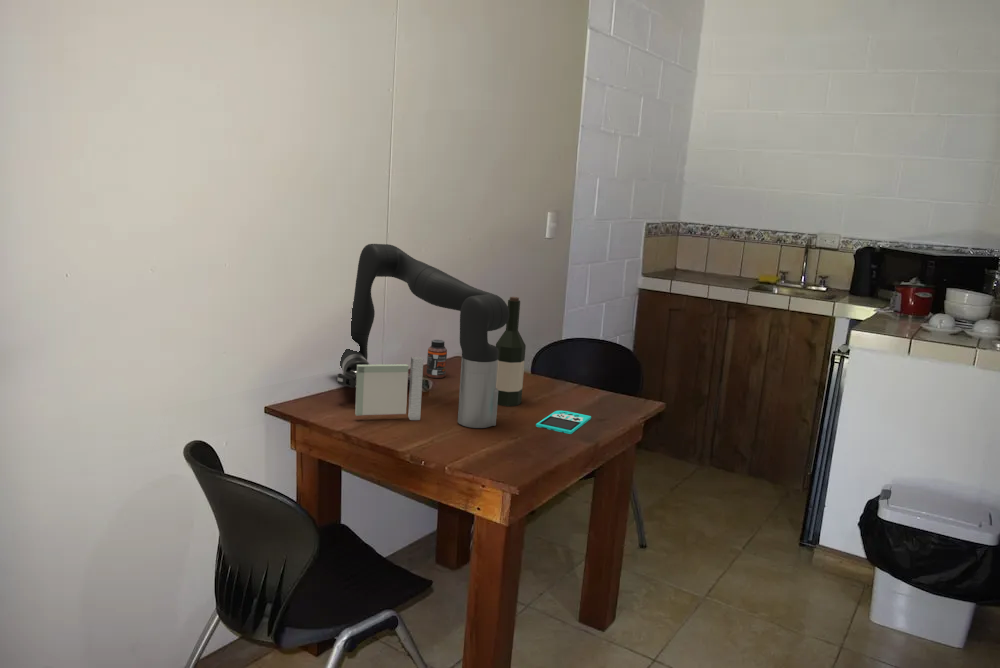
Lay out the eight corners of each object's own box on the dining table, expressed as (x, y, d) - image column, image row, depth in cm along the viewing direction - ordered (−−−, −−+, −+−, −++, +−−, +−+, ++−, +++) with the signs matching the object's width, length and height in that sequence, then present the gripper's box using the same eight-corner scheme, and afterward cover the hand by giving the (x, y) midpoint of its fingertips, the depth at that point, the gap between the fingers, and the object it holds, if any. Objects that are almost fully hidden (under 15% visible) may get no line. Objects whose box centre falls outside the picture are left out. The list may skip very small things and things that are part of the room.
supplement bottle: (438, 379, 237) (440, 343, 235) (422, 376, 240) (424, 340, 238) (449, 376, 242) (451, 340, 240) (433, 372, 245) (435, 337, 243)
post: (418, 416, 201) (421, 356, 198) (420, 419, 199) (423, 359, 195) (408, 417, 200) (411, 356, 197) (410, 420, 198) (413, 359, 195)
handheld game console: (591, 420, 210) (592, 415, 210) (571, 436, 196) (571, 431, 196) (557, 413, 215) (558, 408, 214) (535, 428, 200) (535, 423, 200)
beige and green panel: (405, 412, 199) (407, 364, 197) (406, 414, 198) (408, 365, 195) (355, 413, 195) (356, 364, 193) (355, 415, 194) (357, 366, 191)
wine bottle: (492, 405, 215) (499, 299, 209) (491, 396, 224) (498, 294, 217) (522, 407, 216) (530, 301, 210) (520, 398, 224) (528, 296, 218)
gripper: (332, 357, 212) (339, 373, 196) (381, 356, 216) (391, 373, 200) (332, 383, 214) (339, 402, 198) (380, 382, 218) (390, 401, 202)
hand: (365, 387), depth 199 cm, fingers closed
